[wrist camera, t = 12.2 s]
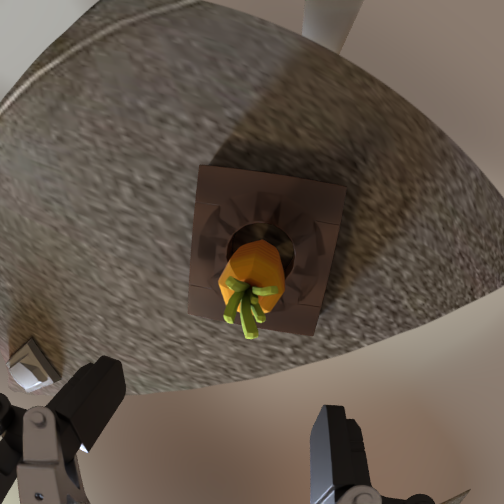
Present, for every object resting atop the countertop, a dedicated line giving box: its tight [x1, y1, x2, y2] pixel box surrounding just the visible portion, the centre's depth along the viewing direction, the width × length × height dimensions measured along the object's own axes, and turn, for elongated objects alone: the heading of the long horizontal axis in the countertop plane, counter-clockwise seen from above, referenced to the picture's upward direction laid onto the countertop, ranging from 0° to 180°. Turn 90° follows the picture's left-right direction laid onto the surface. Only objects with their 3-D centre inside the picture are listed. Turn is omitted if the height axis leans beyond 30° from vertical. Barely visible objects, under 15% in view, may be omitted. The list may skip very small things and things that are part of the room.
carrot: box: [218, 240, 285, 339], centre depth 23 cm, size 5×5×15 cm
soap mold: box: [6, 339, 61, 393], centre depth 43 cm, size 10×20×4 cm, turn 121°
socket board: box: [188, 165, 347, 336], centre depth 29 cm, size 16×14×3 cm
